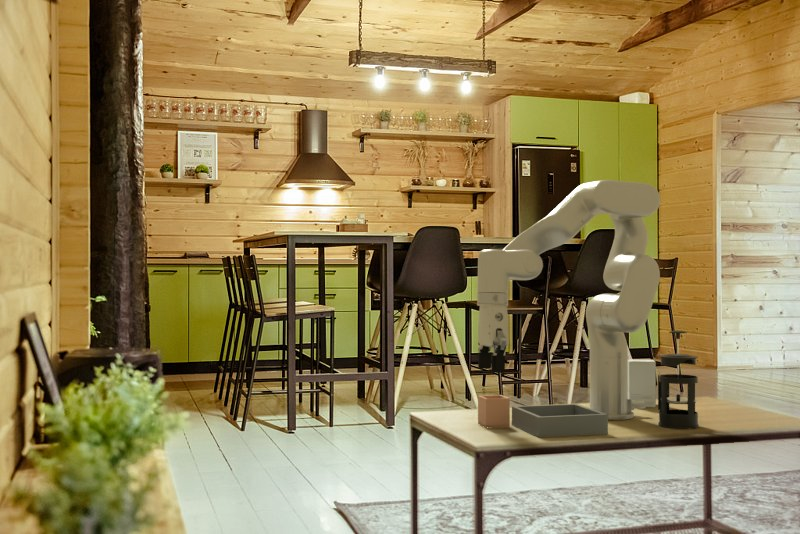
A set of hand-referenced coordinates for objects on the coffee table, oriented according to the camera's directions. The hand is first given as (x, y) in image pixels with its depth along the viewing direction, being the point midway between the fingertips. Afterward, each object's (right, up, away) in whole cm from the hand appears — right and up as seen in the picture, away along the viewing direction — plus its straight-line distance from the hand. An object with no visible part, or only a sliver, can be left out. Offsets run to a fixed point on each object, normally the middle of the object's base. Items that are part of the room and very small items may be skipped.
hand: (491, 370), depth 215 cm
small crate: (+1, -14, 0) cm, 13 cm away
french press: (+45, -14, -1) cm, 47 cm away
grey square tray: (+15, -13, -6) cm, 21 cm away
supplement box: (+45, -14, +32) cm, 57 cm away
